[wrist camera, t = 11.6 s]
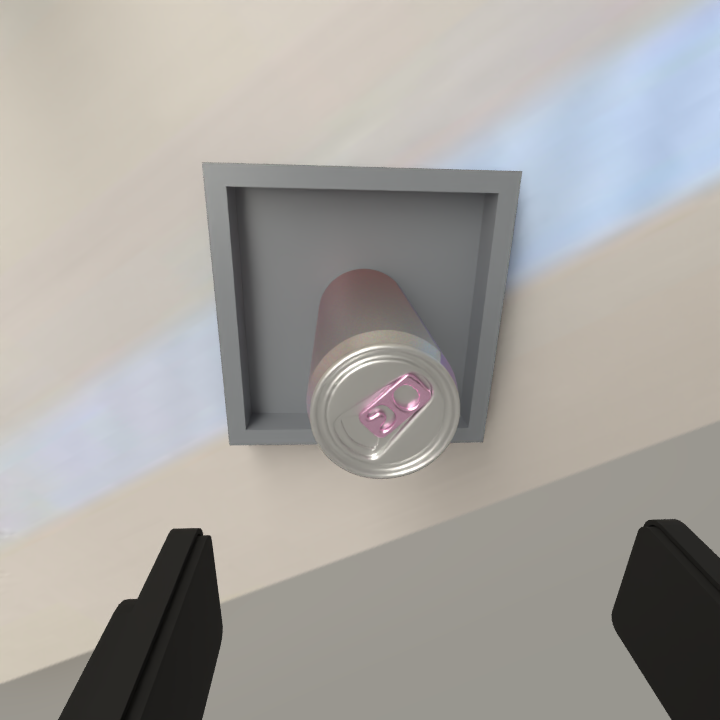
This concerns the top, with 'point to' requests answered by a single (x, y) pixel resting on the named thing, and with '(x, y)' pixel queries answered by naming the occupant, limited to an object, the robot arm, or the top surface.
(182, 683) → the robot arm
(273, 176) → the tray
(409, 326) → the beverage can
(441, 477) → the top surface
